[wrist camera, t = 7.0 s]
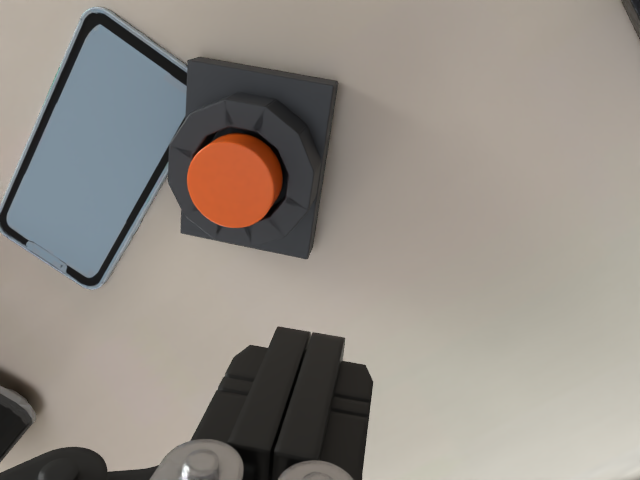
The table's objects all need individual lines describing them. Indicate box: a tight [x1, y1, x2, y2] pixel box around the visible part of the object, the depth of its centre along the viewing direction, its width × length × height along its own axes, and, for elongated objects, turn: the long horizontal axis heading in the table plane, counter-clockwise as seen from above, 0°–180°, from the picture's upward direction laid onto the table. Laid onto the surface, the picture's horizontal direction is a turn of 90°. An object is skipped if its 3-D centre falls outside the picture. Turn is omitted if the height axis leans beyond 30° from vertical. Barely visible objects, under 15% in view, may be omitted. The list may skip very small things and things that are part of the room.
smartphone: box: [0, 7, 187, 289], centre depth 30 cm, size 7×1×15 cm
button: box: [187, 133, 283, 228], centre depth 25 cm, size 4×4×2 cm
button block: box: [168, 57, 338, 259], centre depth 27 cm, size 9×7×4 cm
